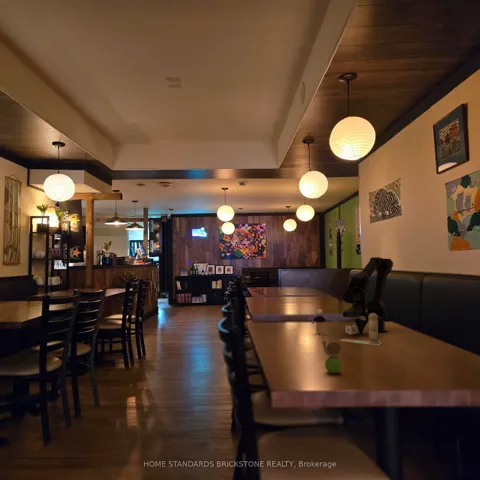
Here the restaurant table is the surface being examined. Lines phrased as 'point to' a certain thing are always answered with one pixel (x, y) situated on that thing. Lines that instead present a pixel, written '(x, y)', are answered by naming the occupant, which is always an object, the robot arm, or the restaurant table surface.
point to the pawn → (373, 329)
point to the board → (356, 341)
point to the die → (351, 329)
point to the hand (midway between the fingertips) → (360, 333)
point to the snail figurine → (332, 356)
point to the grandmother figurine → (319, 322)
